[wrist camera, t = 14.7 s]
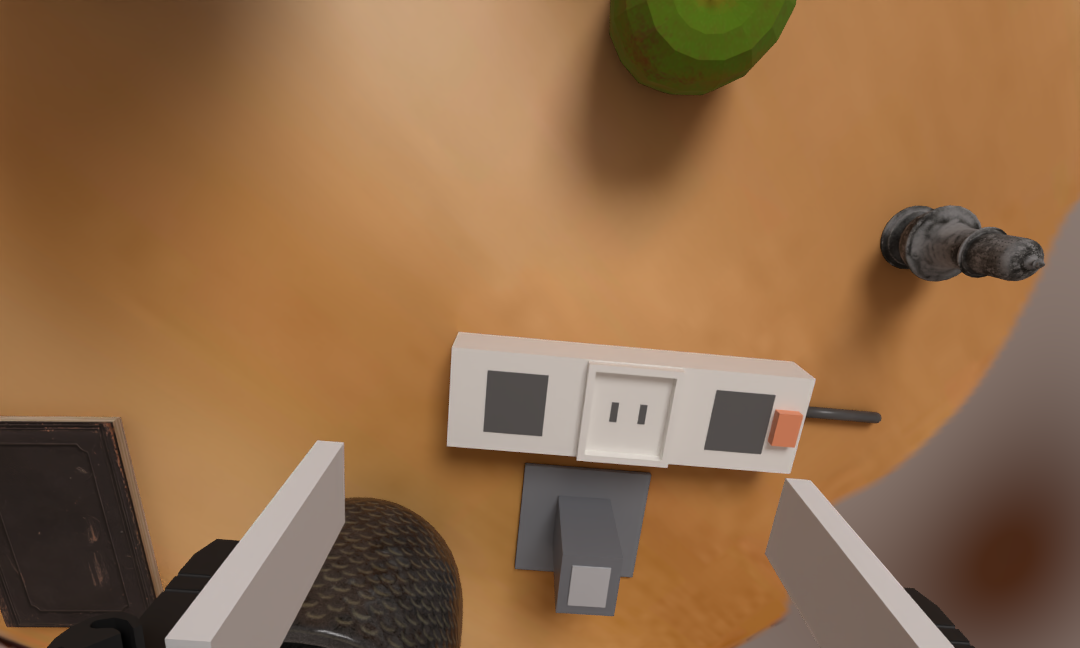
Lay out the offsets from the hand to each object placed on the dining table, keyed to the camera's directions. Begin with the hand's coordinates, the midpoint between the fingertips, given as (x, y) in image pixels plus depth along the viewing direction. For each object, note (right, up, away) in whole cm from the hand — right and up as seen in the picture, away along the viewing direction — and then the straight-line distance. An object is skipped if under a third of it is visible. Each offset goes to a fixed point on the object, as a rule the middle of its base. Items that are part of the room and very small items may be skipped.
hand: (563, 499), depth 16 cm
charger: (+3, -14, +36) cm, 39 cm away
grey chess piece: (+31, +13, +29) cm, 44 cm away
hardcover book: (-47, -14, +37) cm, 61 cm away
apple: (+9, +28, +24) cm, 38 cm away
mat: (+3, -14, +37) cm, 39 cm away
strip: (+11, -1, +33) cm, 35 cm away
